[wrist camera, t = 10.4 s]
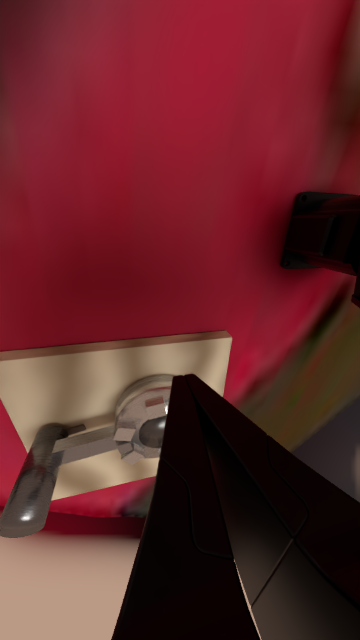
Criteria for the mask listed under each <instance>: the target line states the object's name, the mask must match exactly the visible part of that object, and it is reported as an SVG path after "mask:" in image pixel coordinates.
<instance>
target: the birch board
mask: <svg viewBox="0 0 360 640" xmlns="http://www.w3.org/2000/svg"><path fill="white" fill-rule="evenodd" d="M231 342H232V336H231V335H230V334H229V333H228V332H227V331H226V330H225V331H215V332H204V333H194V334H183V335H173V336H162V337H152V338H141V339H130V340H120V341H109V342H99V343H88V344H78V345H67V346H57V347H46V348H35V349H25V350H14V351H4V352H0V398H1V400H2V402H3V404H4V406H5V408H6V410H7V412H8V414H9V416H10V418H11V420H12V422H13V424H14V426H15V428H16V430H17V432H18V434H19V436H20V438H21V440H22V442H23V444H24V446H25V448H26V450H27V452H29V450H30V448H31V445H32V443H33V441H34V438H35V436H36V434H37V432H38V431H39V430H41V429H43V428H46V427H52V426H55V427H61V428H63V429H65V430H66V431H67V432H68V434H69V437H71V436H75V435H78V434H82V433H86V432H90V431H93V430H97V429H101V428H104V427H108V426H112V425H115V412H116V405H117V402H118V400H119V398H120V396H121V395H122V394H123V393H124V392H125V390H127V389H128V388H129V387H130V386H132V385H133V384H135V383H136V382H138V381H140V380H143V379H145V378H149V377H153V376H160V375H169V376H177V375H183V376H184V375H185V374H191V373H193V374H195V375H196V376H198V377H199V378H200V379H201V380H203V381H204V382H205V383H206V384H207V385H209V386H210V387H211V388H212V389H213V390H215V391H216V392H217V393H218V394H219V395H221V396H222V397H223V392H224V386H225V379H226V373H227V367H228V361H229V354H230V348H231ZM158 462H159V458H142V459H141V460H139V461H138V462H136V463H135V464H133V465H131V464H129V463H127V462H125V461H123V460H121V454H120V453H119V451H118V449H116V450H112V451H109V452H105V453H102V454H98V455H95V456H91V457H88V458H84V459H81V460H77V461H74V462H70V463H67V464H63V465H61V466H60V470H59V474H58V477H57V481H56V485H55V488H54V492H53V496H52V499H51V500H56V499H60V498H64V497H68V496H73V495H77V494H81V493H85V492H89V491H93V490H98V489H102V488H106V487H110V486H114V485H118V484H123V483H127V482H131V481H135V480H139V479H143V478H148V477H152V476H156V474H157V468H158Z"/></svg>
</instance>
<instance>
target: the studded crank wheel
mask: <svg viewBox="0 0 360 640" xmlns="http://www.w3.org/2000/svg"><path fill="white" fill-rule="evenodd" d="M172 379H173V376H169V375H160V376H153V377H149V378H145V379H143V380H140V381H138V382H136V383H135V384H133V385H132V386H130V387H129V388H128V389H127V390H125V392H124V393H123V394H122V395H121V396H120V398H119V400H118V402H117V405H116V412H115V425H112V426H108V427H104V428H101V429H97V430H93V431H90V432H86V433H82V434H78V435H75V436H71V437H69V434H68V432H67V431H66V430H65V429H63V428H61V427H55V426H52V427H46V428H43V429H41V430H39V431H38V432H37V434H36V436H35V438H34V441H33V443H32V445H31V448H30V450H29V452H28V455H27V457H26V459H25V462H24V464H23V466H22V469H21V471H20V473H19V475H18V478H17V480H16V482H15V485H14V487H13V489H12V492H11V494H10V496H9V499H8V501H7V503H6V506H5V508H4V510H3V513H2V515H1V517H0V536H3V537H8V538H18V537H24V536H28V535H31V534H34V533H36V532H38V531H39V530H41V529H42V528H43V526H44V525H45V521H46V517H47V514H48V510H49V506H50V503H51V499H52V496H53V492H54V488H55V485H56V481H57V477H58V474H59V470H60V466H61V465H63V464H67V463H70V462H74V461H77V460H81V459H84V458H88V457H91V456H95V455H98V454H102V453H105V452H109V451H112V450H116V449H118V451H119V453H120V454H121V460H123V461H125V462H127V463H129V464H131V465H133V464H135V463H136V462H138V461H139V460H141V459H142V458H159V457H160V451H161V445H162V439H163V433H164V427H165V421H166V415H167V409H168V403H169V397H170V391H171V385H172Z"/></svg>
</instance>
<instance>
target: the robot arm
mask: <svg viewBox="0 0 360 640" xmlns="http://www.w3.org/2000/svg"><path fill="white" fill-rule="evenodd" d="M302 196H303V201H302ZM286 262H287V264H286ZM285 264H286V265H285ZM280 265H281V267H282V268H285V269H301V268H326V269H330V270H334V271H338V272H342V273H346V274H350V275H354V276H357V277H356V283H355V289H354V294H353V295H352V299H351V302H352V303H354V304H355V305H357V306H358V307H359V308H360V195H349V194H335V193H320V192H300V193H299V194H298V195H297V197H296V200H295V204H294V209H293V213H292V217H291V221H290V225H289V230H288V234H287V238H286V242H285V246H284V251H283V255H282V259H281V264H280ZM234 560H235V562H234ZM235 563H236V564H235ZM236 565H237V568H238V571H239V574H240V577H241V580H242V583H243V586H244V589H245V592H246V595H247V598H248V600H249V603H250V605H251V609H252V613H253V615H254V618H255V621H256V624H257V627H258V630H259V633H260V636H261V639H262V640H360V503H359V502H358V501H357V500H355V499H354V498H352V497H351V496H350V495H348V494H346V493H345V492H344V491H342V490H341V489H339V488H338V487H337V486H335V485H334V484H333V483H331V482H330V481H328V480H327V479H325V478H324V477H323V476H321V475H320V474H318V473H317V472H315V471H314V470H313V469H311V468H310V467H309V466H307V465H306V464H305V463H303V462H302V461H301V460H299V459H298V458H297V457H295V456H294V455H293V454H291V453H290V452H289V451H288V450H286V449H285V448H284V447H283V446H281V445H280V444H279V443H278V442H276V441H275V440H274V439H273V438H272V437H270V436H269V435H267V434H266V433H265V432H264V431H263V430H262V429H261V428H259V427H258V426H257V425H256V424H255V423H253V422H252V421H251V420H250V419H248V418H247V417H246V416H245V415H244V414H242V413H241V412H240V411H239V410H238V409H236V408H235V407H234V406H233V405H232V404H230V403H229V402H228V401H227V400H226V399H224V398H223V397H222V396H221V395H219V394H218V393H217V392H216V391H215V390H213V389H212V388H211V387H210V386H209V385H207V384H206V383H205V382H204V381H203V380H201V379H200V378H199V377H198V376H196V375H195V374H193V373H191V374H185V375H184V376H183V375H177V376H173V379H172V385H171V391H170V397H169V403H168V409H167V415H166V421H165V427H164V433H163V439H162V445H161V451H160V457H159V462H158V468H157V474H156V479H155V484H154V489H153V494H152V499H151V502H150V506H149V510H148V514H147V518H146V522H145V525H144V529H143V533H142V536H141V539H140V543H139V547H138V550H137V554H136V557H135V561H134V564H133V568H132V571H131V575H130V578H129V582H128V585H127V589H126V592H125V596H124V599H123V603H122V606H121V610H120V613H119V617H118V620H117V623H116V626H115V629H114V633H113V636H112V639H111V640H260V637H259V635H258V633H257V630H256V627H255V625H254V622H253V620H252V617H251V614H250V611H249V609H248V606H247V602H246V599H245V596H244V593H243V590H242V587H241V583H240V579H239V576H238V572H237V569H236Z"/></svg>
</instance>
